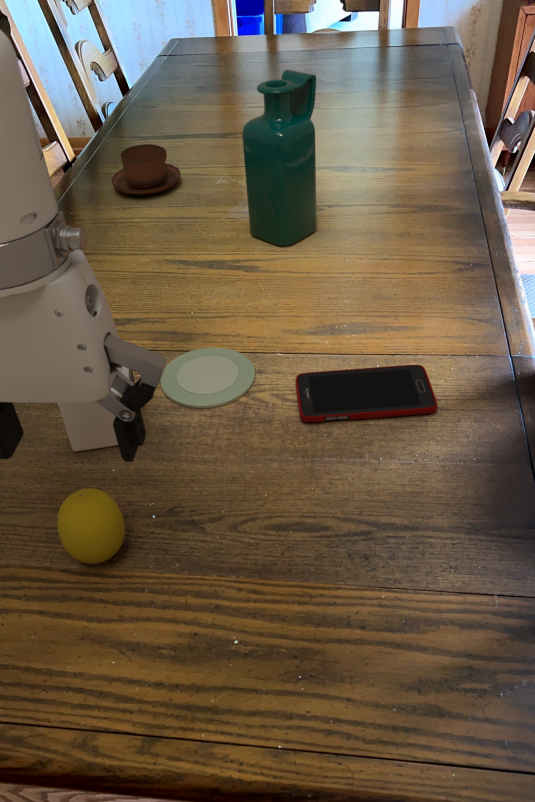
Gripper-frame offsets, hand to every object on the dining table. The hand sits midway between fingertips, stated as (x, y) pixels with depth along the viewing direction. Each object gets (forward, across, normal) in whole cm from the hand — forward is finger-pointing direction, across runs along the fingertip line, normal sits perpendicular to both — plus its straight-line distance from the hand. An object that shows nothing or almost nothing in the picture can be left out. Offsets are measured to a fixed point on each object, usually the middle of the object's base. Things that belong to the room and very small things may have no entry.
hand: (72, 448), depth 55 cm
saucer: (+13, -4, -26) cm, 30 cm away
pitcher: (+13, -11, -63) cm, 65 cm away
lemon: (+14, +1, 0) cm, 14 cm away
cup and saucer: (+13, +15, -80) cm, 83 cm away
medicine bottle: (+14, +5, -17) cm, 23 cm away
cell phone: (+14, -22, -23) cm, 35 cm away
